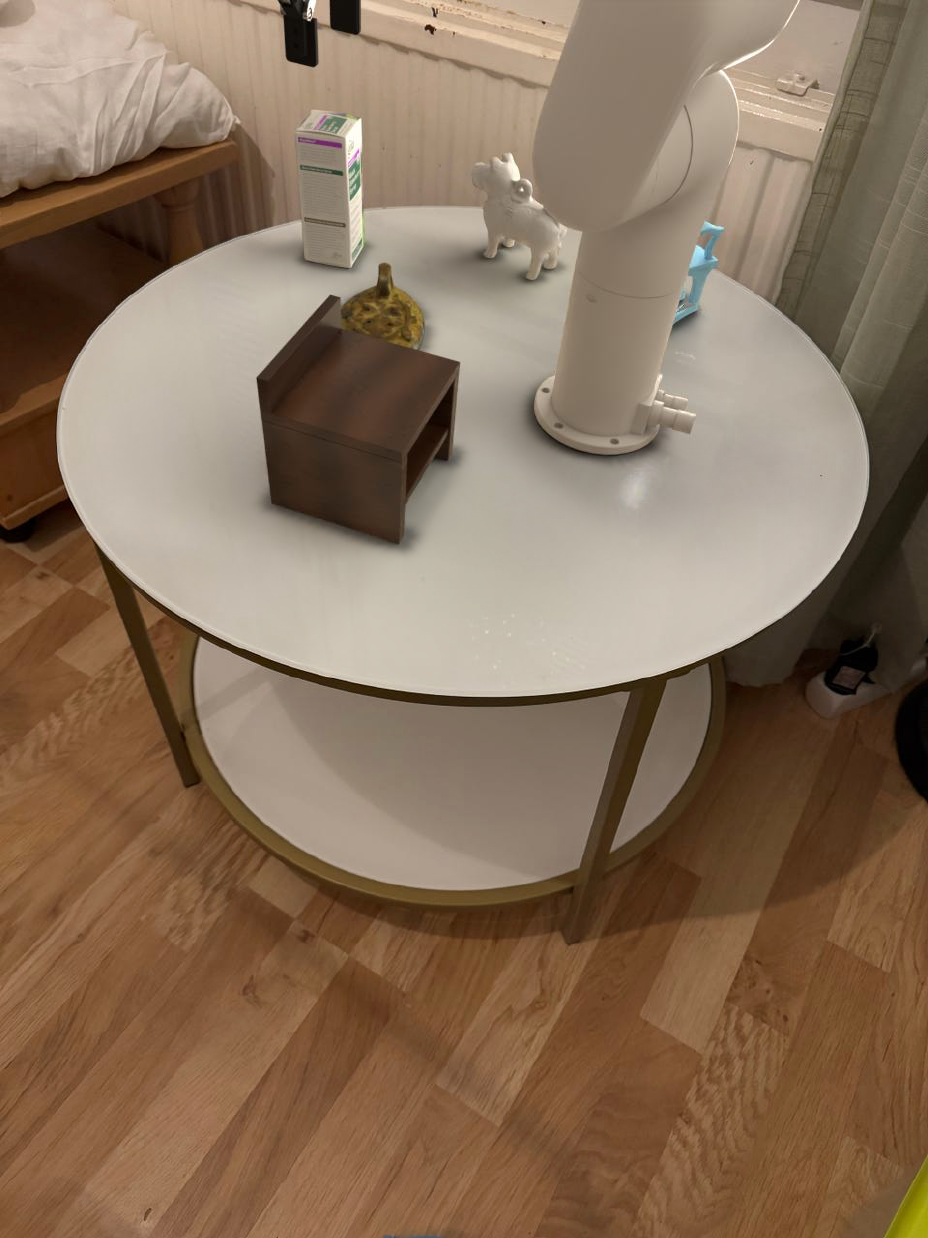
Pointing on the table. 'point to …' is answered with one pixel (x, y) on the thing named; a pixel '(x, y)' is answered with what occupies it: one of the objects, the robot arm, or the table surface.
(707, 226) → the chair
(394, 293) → the seal
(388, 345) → the shelf
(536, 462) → the table surface
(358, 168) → the syrup box
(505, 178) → the dog figurine
